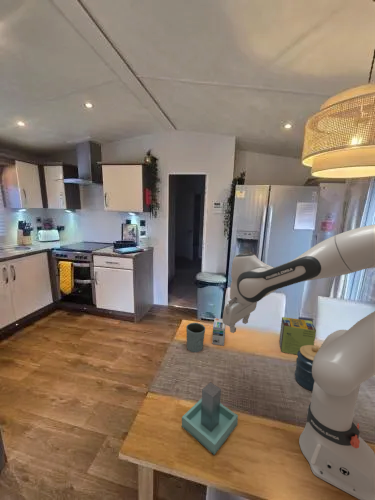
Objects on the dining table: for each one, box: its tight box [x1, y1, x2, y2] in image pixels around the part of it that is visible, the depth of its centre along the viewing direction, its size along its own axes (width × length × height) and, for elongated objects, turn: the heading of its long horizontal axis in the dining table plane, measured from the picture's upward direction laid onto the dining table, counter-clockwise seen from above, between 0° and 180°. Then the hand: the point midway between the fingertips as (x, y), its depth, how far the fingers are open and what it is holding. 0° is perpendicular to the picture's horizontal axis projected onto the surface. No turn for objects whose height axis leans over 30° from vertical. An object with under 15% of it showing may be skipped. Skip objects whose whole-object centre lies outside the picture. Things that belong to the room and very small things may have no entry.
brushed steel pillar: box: [201, 381, 222, 432], centre depth 81 cm, size 5×5×14 cm
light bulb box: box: [211, 317, 226, 346], centre depth 134 cm, size 11×7×11 cm, turn 168°
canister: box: [294, 344, 320, 392], centre depth 103 cm, size 13×13×18 cm
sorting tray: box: [181, 397, 239, 456], centre depth 82 cm, size 14×14×4 cm
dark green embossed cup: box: [185, 322, 206, 353], centre depth 126 cm, size 10×10×12 cm
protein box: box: [278, 316, 317, 356], centre depth 126 cm, size 10×15×16 cm
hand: (239, 327), depth 93 cm, fingers open, 8 cm apart
